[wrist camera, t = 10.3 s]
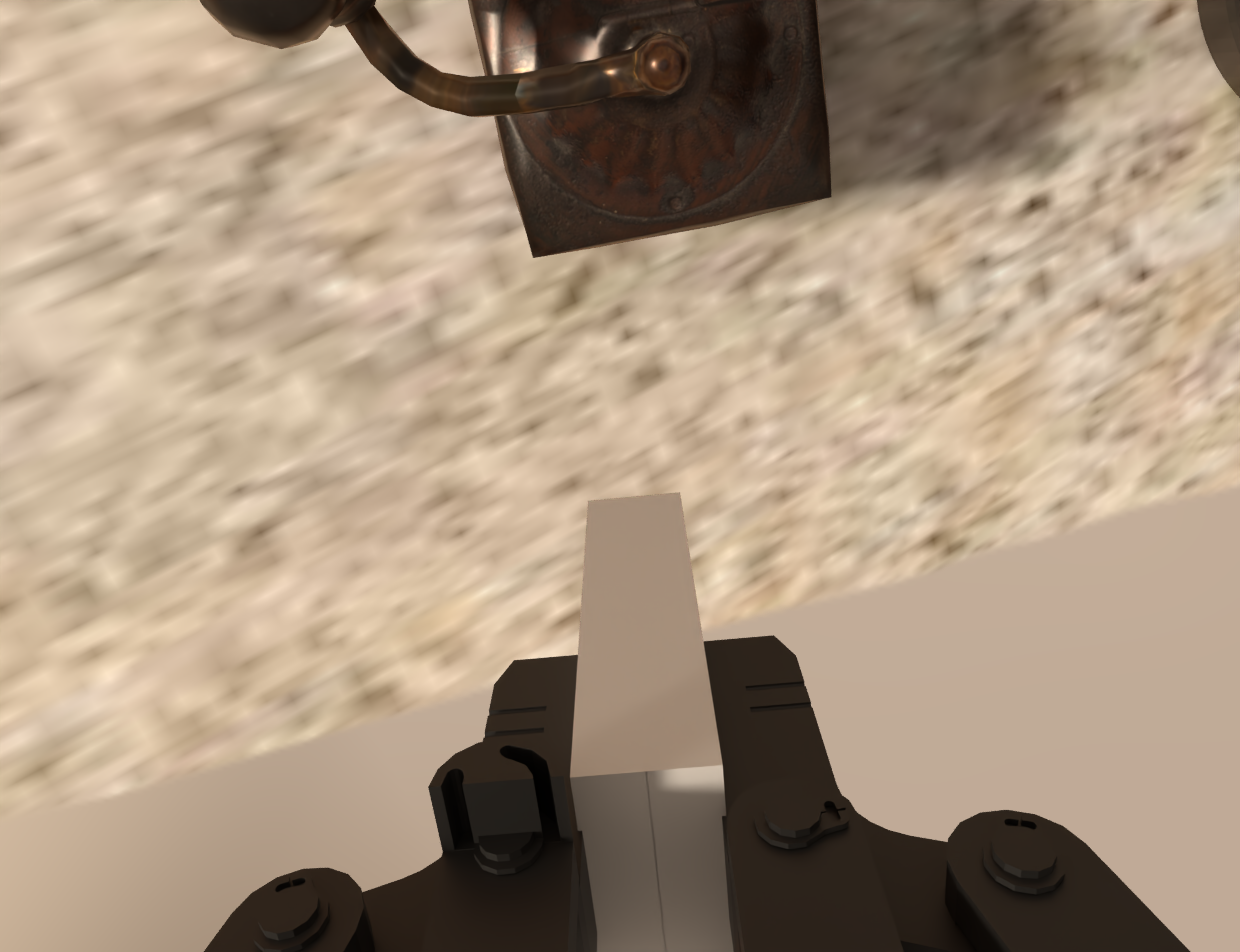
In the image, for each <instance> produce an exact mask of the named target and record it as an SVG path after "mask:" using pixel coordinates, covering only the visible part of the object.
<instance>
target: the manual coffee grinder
mask: <svg viewBox="0 0 1240 952" xmlns="http://www.w3.org/2000/svg"><path fill="white" fill-rule="evenodd" d="M200 2H201V3H202V5H203V6H204V8H205V9H206V10H207V11H208V12H209V13H210V15H211V16H212V17H213V18H214V19H215V20H216V21H217V22H218V23H219V24H221V25H222V26H223V27H224V28H225V29H226V30H227V31H228V32H229V33H231V34H232V35H233V36H235V37H238V38H242V39H246V40H249V41H253V42H257V43H261V44H264V45H268V46H272V47H276V48H279V49H284V48H288V47H293V46H297V45H300V44H303V43H307V42H310V41H313V40H316V39H318V38H319V37H320V36H321V34H322V33H323V32H324V31H325V30H326V29H327V27H328V26H329V25H330V26H333V27H339V26H342V25H345V26H346V27H347V29H348V30H349V32H350V33H351V35H352V36H353V38H354V39H355V41H356V42H357V44H358V45H359V47H360V48H361V50H362V51H363V53H364V54H365V56H366V57H367V59H368V60H369V61H370V63H371V64H372V65H373V66H374V67H375V68H376V69H377V70H379V71H380V72H381V73H382V74H383V75H384V76H385V77H386V78H387V79H388V80H389V81H390V82H392V83H393V84H394V85H395V86H396V87H397V88H398V89H400V90H401V91H403V92H405V93H407V94H409V95H411V96H413V97H414V98H416V99H418V100H420V101H422V102H424V103H426V104H427V105H429V106H431V107H435V108H439V109H443V110H447V111H451V112H454V113H458V114H462V115H466V116H471V117H487V116H494V117H495V122H496V127H497V132H498V137H499V142H500V146H501V151H502V156H503V161H504V166H505V170H506V173H507V176H508V179H509V182H510V185H511V188H512V191H513V194H514V197H515V200H516V203H517V206H518V209H519V212H520V215H521V218H522V221H523V224H524V227H525V230H526V233H527V237H528V241H529V244H530V248H531V252H532V256H533V258H536V257H542V256H548V255H554V254H560V253H566V252H572V251H578V250H584V249H590V248H596V247H601V246H607V245H612V244H618V243H623V242H628V241H634V240H639V239H644V238H650V237H655V236H661V235H667V234H672V233H678V232H683V231H689V230H694V229H700V228H705V227H711V226H716V225H720V224H724V223H728V222H732V221H736V220H740V219H744V218H748V217H752V216H756V215H760V214H764V213H768V212H772V211H776V210H780V209H784V208H788V207H792V206H796V205H800V204H805V203H809V202H813V201H817V200H821V199H825V198H829V197H831V173H830V146H829V127H828V116H827V105H826V94H825V83H824V73H823V62H822V52H821V41H820V31H819V20H818V10H817V0H468V3H469V8H470V13H471V17H472V22H473V26H474V30H475V34H476V39H477V43H478V47H479V51H480V56H481V60H482V64H483V69H484V73H485V76H478V77H467V76H461V75H455V74H448V73H442V72H441V71H439V70H437V69H436V68H434V67H433V66H431V65H429V64H428V63H426V62H425V61H423V60H421V59H420V58H418V57H417V56H416V55H415V54H414V53H413V52H412V51H411V49H410V48H409V47H408V46H407V45H406V44H405V43H404V42H403V40H402V39H401V38H400V37H399V36H398V35H397V33H396V32H395V31H394V30H393V29H392V28H391V26H390V25H389V24H388V23H387V22H386V20H385V19H384V18H383V17H382V16H381V14H380V13H379V12H378V11H377V9H376V8H375V6H374V5H375V2H376V0H200Z"/></svg>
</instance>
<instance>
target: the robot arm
mask: <svg viewBox="0 0 1240 952" xmlns="http://www.w3.org/2000/svg"><path fill="white" fill-rule="evenodd" d="M1197 4H1198V12H1199V17H1200V22H1201V26H1202V30H1203V33H1204V37H1205V40H1206V43H1207V46H1208V48H1209V51H1210V53H1211V55H1212V58H1213V60H1214V62H1215V64H1216V66H1217V67H1218V69H1219V71H1220V72H1221V74H1222V76H1223V77H1224V79H1225V80H1226V82H1227V83H1228V84H1229V86H1230V87H1231V88H1232V89H1233V91H1234V92H1235V93H1236V94H1237V95H1238V96H1239V97H1240V0H1197ZM428 788H429V792H430V796H431V801H432V806H433V810H434V814H435V819H436V823H437V828H438V832H439V837H440V841H441V845H442V850H443V854H442V857H441V858H439V859H438V860H437V861H435V862H434V863H432V864H431V865H429V866H427V867H426V868H424V869H423V870H421V871H419V872H417V873H414V874H412V875H410V876H407V877H405V878H403V879H400V880H397V881H394V882H391V883H388V884H385V885H383V886H380V887H377V888H374V889H371V890H368V891H365V892H362V891H361V888H360V887H359V886H358V884H357V883H356V882H355V881H354V880H353V879H352V878H351V877H350V876H349V875H348V874H346V873H343V872H340V871H337V870H334V869H330V868H312V869H301V870H298V871H295V872H292V873H289V874H286V875H283V876H280V877H277V878H275V879H274V880H272V881H271V882H269V883H267V884H266V885H264V886H262V887H261V888H259V889H258V890H256V891H254V892H253V893H251V894H250V895H249V897H248V898H247V899H245V901H244V902H243V903H242V904H241V905H240V906H239V907H238V908H237V909H236V910H235V911H234V912H233V913H232V914H231V915H230V917H229V918H228V919H227V921H226V922H225V924H224V925H223V926H222V928H221V929H220V930H219V932H218V933H217V934H216V936H215V937H214V939H213V940H212V941H211V943H210V944H209V945H208V947H207V948H206V949H205V951H204V952H1190V951H1189V950H1188V949H1187V948H1186V947H1185V946H1184V945H1183V944H1182V943H1181V942H1180V941H1179V940H1178V938H1177V937H1176V936H1175V935H1174V934H1173V933H1172V932H1171V931H1170V930H1169V929H1168V928H1167V927H1166V926H1165V925H1164V924H1163V923H1162V922H1161V921H1160V920H1159V919H1158V918H1157V917H1156V916H1155V915H1154V914H1153V913H1152V912H1151V910H1150V909H1149V908H1148V907H1147V906H1146V905H1145V904H1144V903H1143V902H1142V901H1141V900H1140V899H1139V898H1138V897H1137V896H1136V895H1135V894H1134V893H1133V892H1132V891H1131V890H1130V889H1129V888H1128V887H1127V886H1126V885H1125V884H1124V883H1123V882H1122V881H1121V880H1120V878H1118V876H1117V875H1116V874H1115V873H1114V872H1113V871H1112V870H1111V869H1110V868H1109V867H1108V866H1107V865H1106V864H1105V863H1104V862H1103V861H1102V860H1101V859H1100V858H1099V857H1098V856H1097V855H1096V854H1095V853H1094V852H1093V851H1092V850H1091V848H1090V847H1088V845H1087V844H1086V843H1084V842H1083V841H1082V840H1080V839H1079V838H1078V837H1077V836H1075V835H1074V834H1073V833H1071V832H1070V831H1069V830H1067V829H1066V828H1065V827H1063V826H1061V825H1059V824H1057V823H1054V822H1052V821H1050V820H1047V819H1045V818H1043V817H1040V816H1038V815H1035V814H1030V813H1023V812H1017V811H1011V810H1000V811H991V812H982V813H979V814H977V815H975V816H973V817H971V818H969V819H966V820H964V821H963V822H960V823H959V825H958V826H957V827H956V829H955V830H954V832H953V833H952V834H951V836H950V837H949V838H948V842H943V841H937V840H932V839H926V838H920V837H914V836H909V835H905V834H901V833H898V832H893V831H890V830H887V829H885V828H883V827H881V826H878V825H876V824H874V823H872V822H870V821H868V820H867V819H866V818H864V817H863V816H861V815H860V814H858V813H857V812H856V811H855V809H854V807H853V806H852V804H851V803H850V801H849V800H848V799H846V798H845V797H844V796H842V795H841V793H840V791H839V789H838V787H837V784H836V781H835V778H834V775H833V772H832V768H831V765H830V762H829V759H828V756H827V753H826V749H825V746H824V743H823V740H822V737H821V734H820V731H819V727H818V724H817V721H816V718H815V714H814V711H813V708H812V707H811V702H810V698H809V695H808V692H807V689H806V686H804V679H803V676H802V673H801V670H800V667H799V663H798V661H797V657H796V655H795V654H793V653H792V652H791V651H790V650H789V649H788V648H787V647H786V646H785V645H784V644H783V643H781V642H780V641H779V640H778V639H777V638H776V637H775V636H762V637H750V638H739V639H727V640H715V641H704V642H703V636H702V630H701V623H700V617H699V611H698V604H697V598H696V591H695V585H694V579H693V572H692V566H691V560H690V553H689V547H688V540H687V534H686V528H685V521H684V515H683V508H682V502H681V496H680V493H669V494H658V495H647V496H636V497H625V498H614V499H603V500H592V501H588V510H587V525H586V540H585V555H584V571H583V586H582V601H581V617H580V632H579V647H578V655H572V656H560V657H548V658H537V659H525V660H514V661H513V662H512V664H511V665H510V666H509V667H508V668H507V670H506V671H505V672H504V673H503V675H502V676H501V677H500V678H499V679H498V681H497V682H496V683H495V684H494V689H493V694H492V699H491V704H490V709H489V716H488V719H487V724H486V729H485V738H484V739H483V742H480V743H477V744H475V745H473V746H471V747H469V748H466V749H464V750H462V751H460V752H458V753H456V754H455V755H453V756H452V757H451V758H450V759H449V760H448V761H447V762H446V763H445V764H443V765H442V766H441V767H440V768H439V769H438V770H437V772H436V774H435V776H434V777H433V779H432V781H431V783H430V785H429V787H428Z"/></svg>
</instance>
